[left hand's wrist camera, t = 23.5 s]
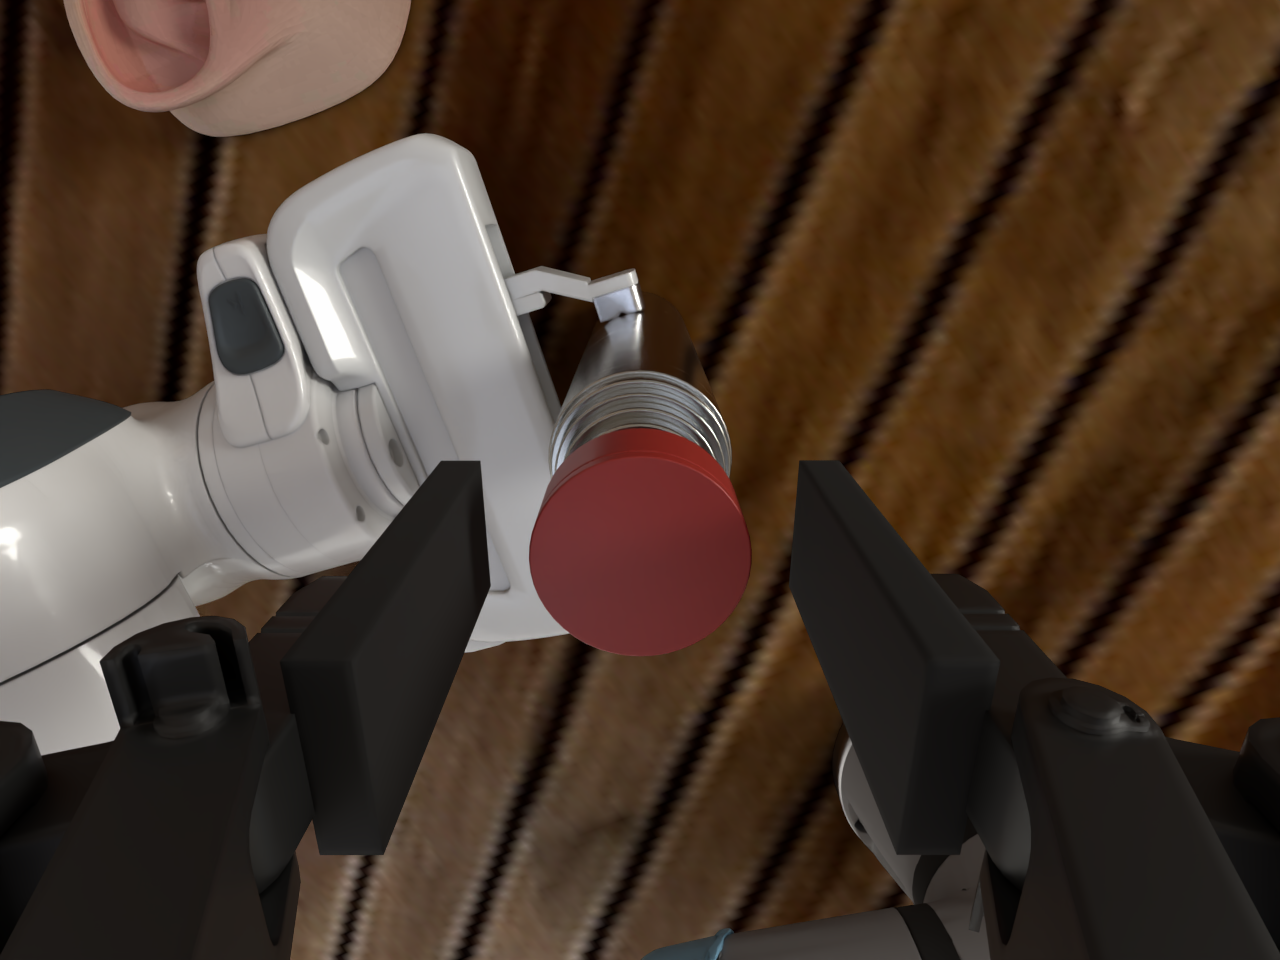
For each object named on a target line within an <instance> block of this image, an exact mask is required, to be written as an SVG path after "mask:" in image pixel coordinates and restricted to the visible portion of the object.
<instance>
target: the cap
mask: <svg viewBox="0 0 1280 960" xmlns="http://www.w3.org/2000/svg"><path fill="white" fill-rule="evenodd" d="M751 556H752V550H751V542H750V536H749V533H748V529H747V526H746V522H745V520H744V517H743V514H742V511H741V508H740V505H739V502H738V499H737V496H736V493H735V490H734V488H733V486H732V484H731V481H730V479H729V477H728V476H727V474H726V473H725V471H724V470H723V468H722V467H721V466H720V465H719V463H718V462H717V461H716V460H715V459H714V458H713V457H712V456H711V455H710V454H709V453H708V452H707V451H705V450H704V449H703V448H701V447H700V446H698V445H697V444H695V443H694V442H692V441H690V440H688V439H686V438H684V437H682V436H679V435H676V434H673V433H670V432H666V431H662V430H657V429H646V428H634V429H624V430H619V431H614V432H611V433H607V434H604V435H601V436H599V437H597V438H595V439H592V440H590V441H589V442H587V443H585V444H584V445H582V446H581V447H579V448H578V449H577V450H575V451H574V452H573V453H572V454H570V455H569V456H568V457H567V458H566V459H565V461H564V462H563V463H562V464H561V465H560V466H559V468H558V469H557V470H556V472H555V473H554V475H553V476H552V478H551V480H550V482H549V484H548V486H547V489H546V492H545V495H544V498H543V501H542V504H541V507H540V510H539V513H538V516H537V519H536V522H535V525H534V528H533V531H532V534H531V539H530V545H529V565H530V573H531V577H532V581H533V584H534V587H535V589H536V592H537V594H538V597H539V598H540V600H541V602H542V603H543V605H544V607H545V608H546V610H547V611H548V612H549V614H550V615H551V616H552V617H553V619H554V620H555V621H556V622H557V623H558V624H559V625H560V626H561V627H562V628H563V629H565V630H566V631H567V632H569V633H570V634H571V635H573V636H574V637H576V638H577V639H579V640H581V641H583V642H584V643H586V644H588V645H591V646H593V647H595V648H598V649H601V650H604V651H607V652H610V653H616V654H621V655H629V656H653V655H659V654H666V653H669V652H673V651H677V650H680V649H683V648H685V647H688V646H690V645H692V644H694V643H696V642H698V641H700V640H702V639H703V638H705V637H706V636H708V635H709V634H710V633H712V632H713V631H715V630H716V629H717V628H718V627H719V626H720V625H721V624H722V623H723V622H724V621H725V620H726V619H727V618H728V617H729V615H730V614H731V613H732V612H733V610H734V609H735V607H736V606H737V604H738V603H739V601H740V599H741V597H742V595H743V593H744V591H745V589H746V586H747V582H748V579H749V576H750V569H751Z"/></svg>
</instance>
